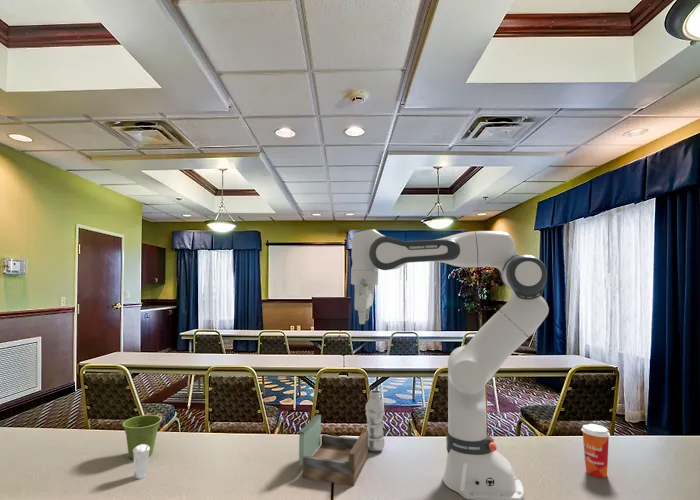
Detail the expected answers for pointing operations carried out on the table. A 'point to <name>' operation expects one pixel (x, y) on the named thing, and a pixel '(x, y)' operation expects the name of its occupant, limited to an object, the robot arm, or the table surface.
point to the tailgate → (310, 438)
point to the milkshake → (140, 460)
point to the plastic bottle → (375, 421)
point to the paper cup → (596, 449)
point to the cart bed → (337, 459)
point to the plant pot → (141, 431)
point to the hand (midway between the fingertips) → (363, 322)
